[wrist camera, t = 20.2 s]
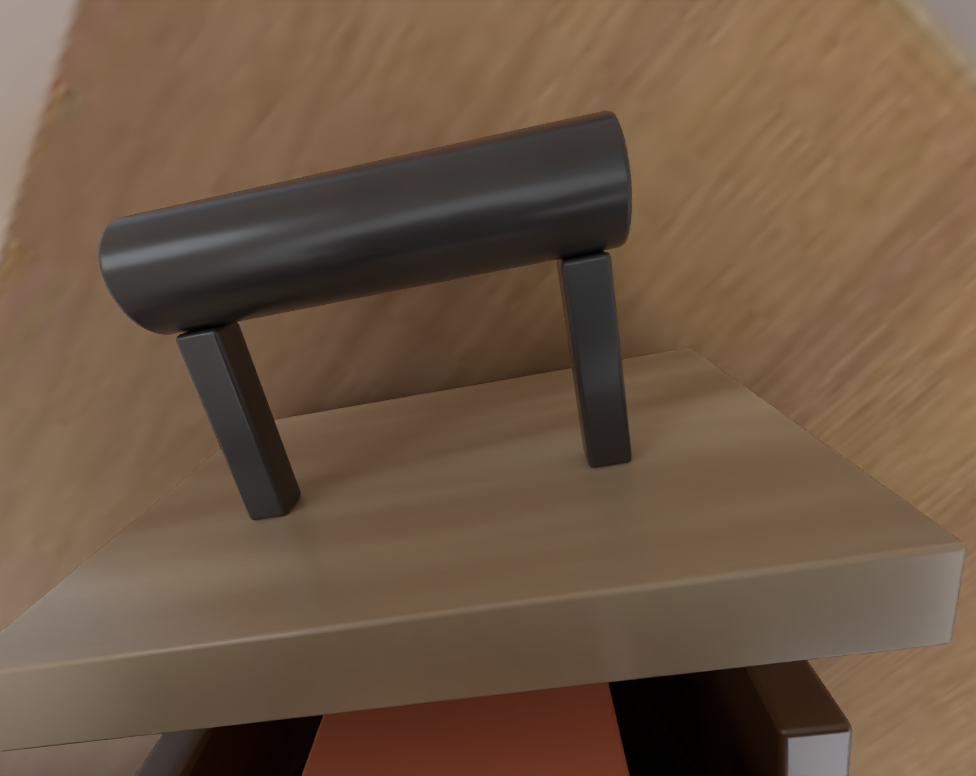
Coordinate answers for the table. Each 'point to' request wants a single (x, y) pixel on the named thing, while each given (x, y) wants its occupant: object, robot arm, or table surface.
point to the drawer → (465, 500)
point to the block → (477, 737)
